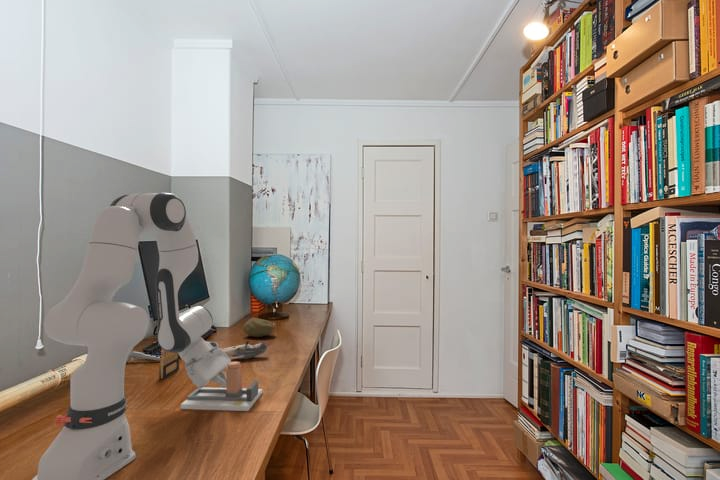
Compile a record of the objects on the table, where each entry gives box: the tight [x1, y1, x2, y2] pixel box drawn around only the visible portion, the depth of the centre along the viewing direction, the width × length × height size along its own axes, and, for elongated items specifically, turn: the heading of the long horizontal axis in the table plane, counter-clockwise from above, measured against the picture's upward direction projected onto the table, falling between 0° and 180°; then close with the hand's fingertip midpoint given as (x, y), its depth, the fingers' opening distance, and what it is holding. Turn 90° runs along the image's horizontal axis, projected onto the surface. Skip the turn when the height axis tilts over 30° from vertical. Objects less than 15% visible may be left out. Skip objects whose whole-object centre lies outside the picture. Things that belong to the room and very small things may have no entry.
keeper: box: [226, 361, 242, 397], centre depth 131 cm, size 4×4×11 cm
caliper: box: [126, 348, 161, 364], centre depth 171 cm, size 20×1×6 cm, turn 93°
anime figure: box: [221, 340, 268, 361], centre depth 176 cm, size 10×7×30 cm
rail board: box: [180, 380, 263, 412], centre depth 131 cm, size 14×22×6 cm, turn 86°
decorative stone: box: [242, 317, 275, 338], centre depth 214 cm, size 17×11×10 cm, turn 83°
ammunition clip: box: [158, 348, 180, 380], centre depth 156 cm, size 11×2×12 cm, turn 174°
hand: (226, 384), depth 131 cm, fingers closed, pressing on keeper
